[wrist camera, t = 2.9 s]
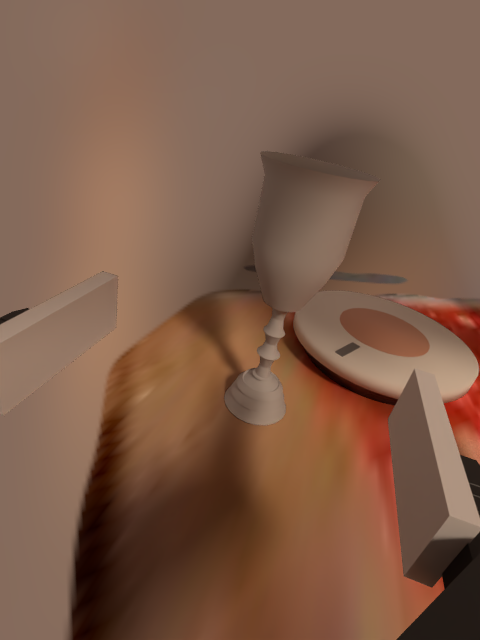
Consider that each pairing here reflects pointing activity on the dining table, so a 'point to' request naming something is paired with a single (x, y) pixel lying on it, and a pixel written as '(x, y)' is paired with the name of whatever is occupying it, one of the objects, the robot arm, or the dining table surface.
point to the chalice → (294, 259)
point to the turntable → (383, 344)
